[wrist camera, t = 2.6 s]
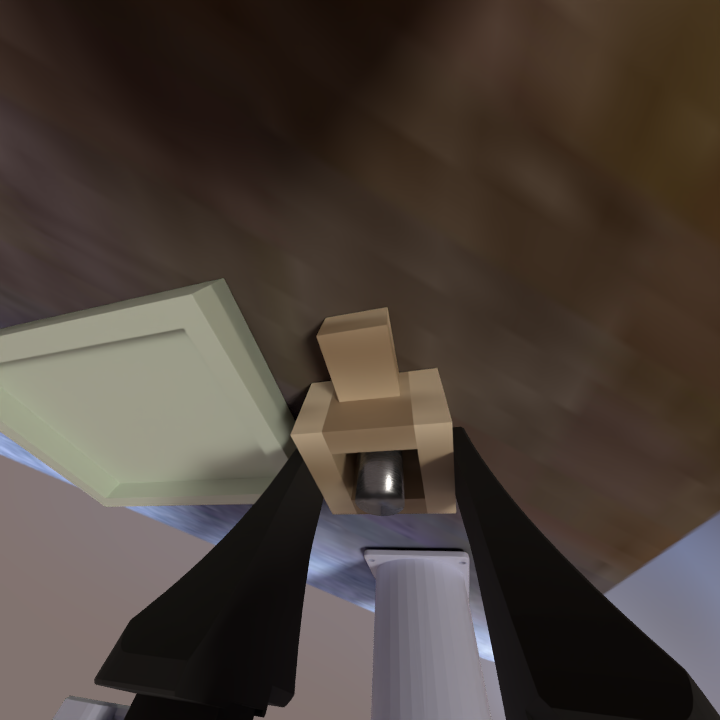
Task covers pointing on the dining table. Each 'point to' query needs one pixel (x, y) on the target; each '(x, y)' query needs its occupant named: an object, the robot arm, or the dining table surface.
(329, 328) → the wooden frame with tab
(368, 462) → the post
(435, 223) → the dining table surface
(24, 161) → the dining table surface
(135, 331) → the sage tray
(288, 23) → the dining table surface
